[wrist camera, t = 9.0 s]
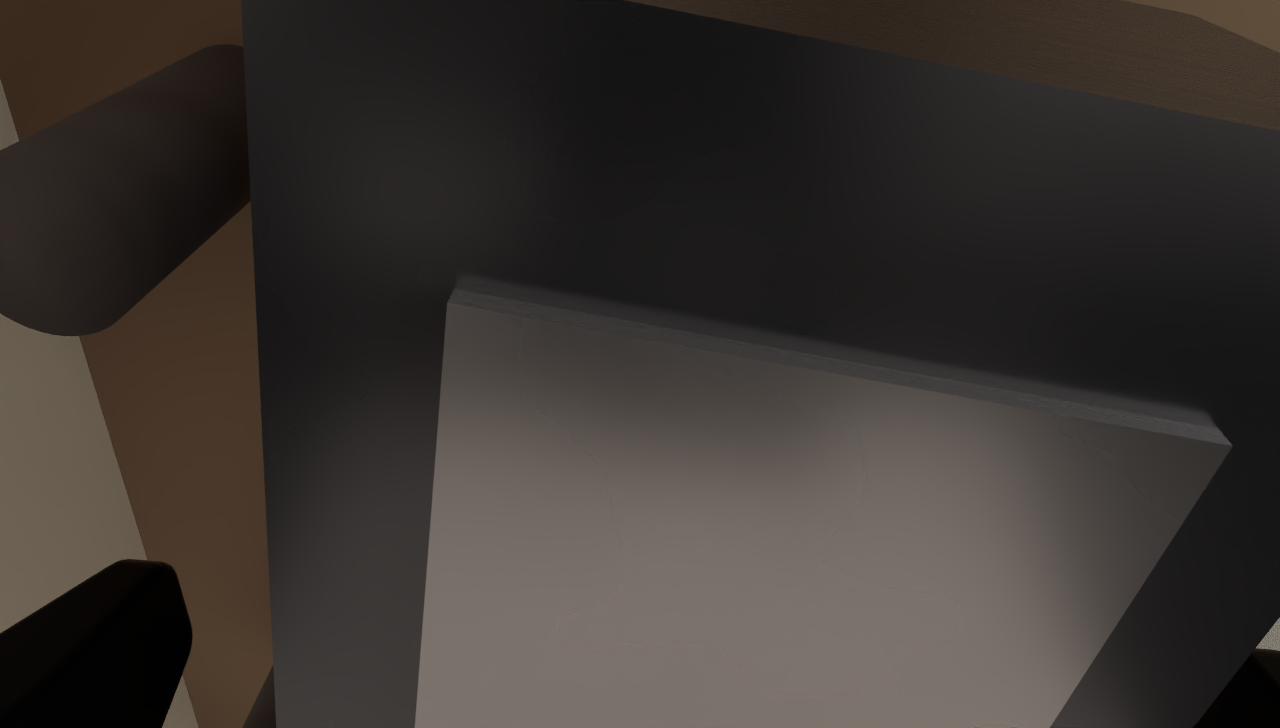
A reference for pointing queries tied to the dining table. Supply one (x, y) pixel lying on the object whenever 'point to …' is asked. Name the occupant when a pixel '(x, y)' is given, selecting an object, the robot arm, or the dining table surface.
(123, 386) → the wooden peg board
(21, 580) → the dining table surface
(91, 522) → the dining table surface
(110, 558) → the dining table surface
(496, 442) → the drive
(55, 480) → the dining table surface
